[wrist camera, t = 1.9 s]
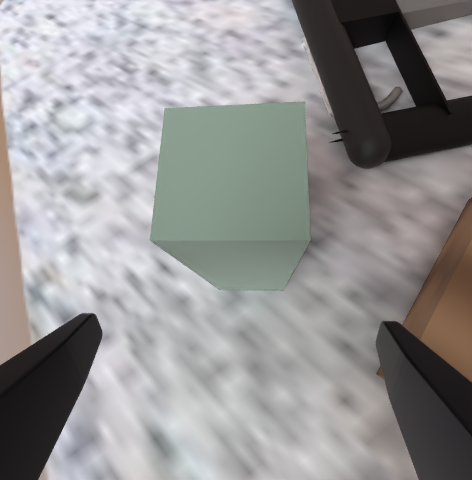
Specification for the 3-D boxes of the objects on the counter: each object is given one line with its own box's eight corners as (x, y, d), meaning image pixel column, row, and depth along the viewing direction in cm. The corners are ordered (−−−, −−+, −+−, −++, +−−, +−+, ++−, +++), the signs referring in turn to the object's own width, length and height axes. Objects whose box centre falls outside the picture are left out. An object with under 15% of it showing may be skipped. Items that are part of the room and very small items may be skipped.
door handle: (455, -73, 25) (275, -40, 25) (579, 113, 20) (347, 160, 19) (432, -29, 28) (272, 1, 28) (532, 143, 23) (333, 183, 22)
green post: (282, 290, 20) (310, 240, 8) (219, 289, 21) (149, 240, 8) (281, 229, 21) (304, 101, 9) (221, 229, 22) (164, 108, 9)
